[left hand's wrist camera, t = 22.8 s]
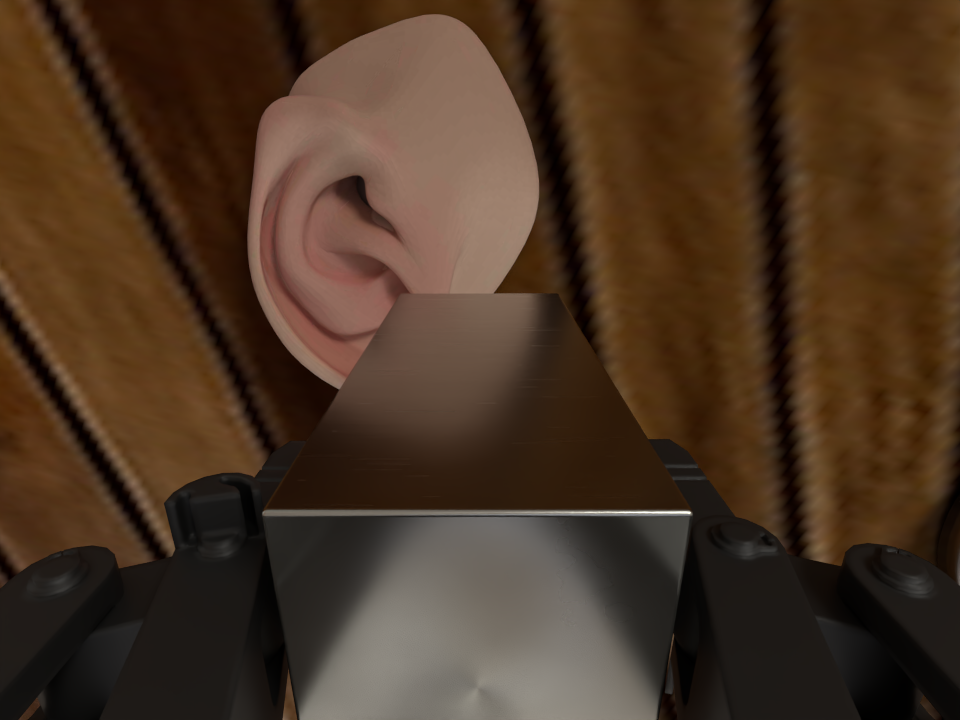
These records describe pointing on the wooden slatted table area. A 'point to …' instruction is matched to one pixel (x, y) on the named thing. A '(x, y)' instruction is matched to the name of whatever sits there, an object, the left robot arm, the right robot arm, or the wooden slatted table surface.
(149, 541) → the wooden slatted table surface
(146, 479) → the wooden slatted table surface
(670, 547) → the block
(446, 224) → the anatomical model
